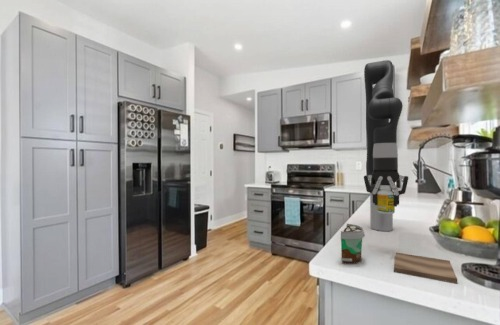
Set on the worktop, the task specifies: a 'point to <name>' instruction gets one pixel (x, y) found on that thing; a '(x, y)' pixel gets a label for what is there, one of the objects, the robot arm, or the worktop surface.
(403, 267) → the walnut cutting board
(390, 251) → the worktop surface
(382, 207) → the supplement bottle
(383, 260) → the worktop surface
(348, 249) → the food container
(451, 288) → the worktop surface
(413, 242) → the worktop surface
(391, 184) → the robot arm
